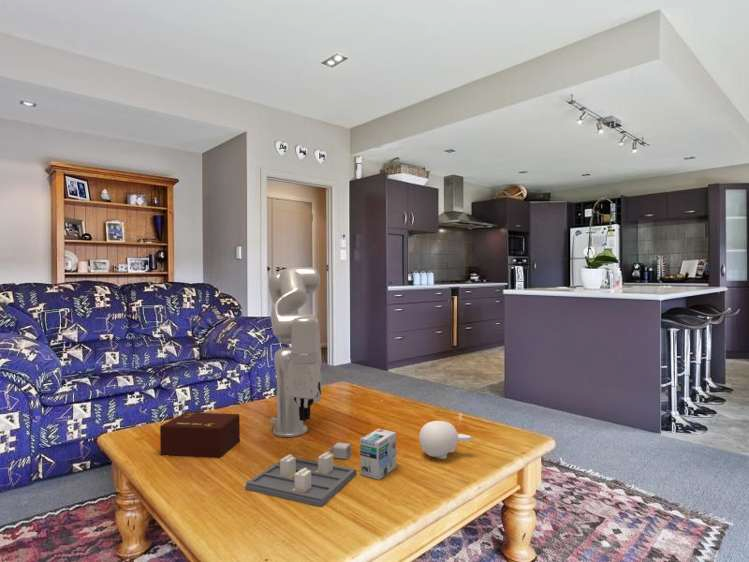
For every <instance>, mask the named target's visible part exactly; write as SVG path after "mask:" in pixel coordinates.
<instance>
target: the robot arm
mask: <svg viewBox="0 0 749 562" xmlns="http://www.w3.org/2000/svg"><path fill="white" fill-rule="evenodd" d="M320 286H321V276H320V272H319V271H318V269H316V268H315V267H307V266H306V267H305V266H304V267H302V266H301V267H300V266H299V267H296V266H295V267H294V266H293V267H287V268H284V269H282V271H280V272H276V273H273V274H271V275H270V276H269V278H268V290H269V294H270V297H271V299H272V303H273V306H272V307H271V308H272V309H271V312H270V319H271V329H272V330H271V331H272V333H273V336H274V337H275V338H276V339H277V341H278V342H279V343H280V344H283V345H291V347H290V346H287V347H283V348H282V347H281V348H279V349H277V350H276V352H274V356H273V361H274V362H273V363H274V367H275V373H276V374H275V375H276V376H275V377H276V410H277V411H276V417H272V416H271V418H270V421H269V425H271V426H272V425H273V426H274V428H273V429H272V434H273V435H275V436H276V437H281V438H294V437H299V436H301V435H304V434H306V433H307V431H308V426H307V425H306V424H304V422H306V421H307V420H310V419H311V418H310V417H311V406H312V405H313V404H315V403H320V402H321V401H322V397H321V395H322V390H323V387H322V385H323V384H322V373H321V367H322V349H321V347H322V346H321V336H320V334H321V333H320V326H319V319H318V318H317V316H315V315H314V314H312V313H299V309H301V308H302V307H303V306H305V304H306V303H307V301H308V295H312V294H314V293H315V292H317V291H318V290H319V289H320Z"/></svg>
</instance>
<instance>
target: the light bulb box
mask: <svg viewBox="0 0 749 562" xmlns="http://www.w3.org/2000/svg"><path fill="white" fill-rule="evenodd" d="M359 440H360V443H359V446H360V447H359V448H360V451H359V452H360V454H359V455H360V457H359V459H360V475H361V476H364V477H367V478H370V479H374V480H377V481H378V480H379V481H380V480H381V479H382V478H384V477H385V476H387V475H388V474H389V473H390V472H392V471H394V470H395V469H396V468H397V432H395V431H391V430H386V429H382V428H377V429H375V430H374V431H372V432H370V433H368V434H366V435H364V436H363V437H361V438H360V439H359Z"/></svg>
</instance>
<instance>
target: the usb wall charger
mask: <svg viewBox="0 0 749 562" xmlns="http://www.w3.org/2000/svg"><path fill="white" fill-rule="evenodd" d="M327 452H329V453H333V459H340V460H348V459H349V458H350V457H351V455H352V444H351V443H345V442H337V443H336V444H334V445H333V446H330V447H329V449H327Z"/></svg>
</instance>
